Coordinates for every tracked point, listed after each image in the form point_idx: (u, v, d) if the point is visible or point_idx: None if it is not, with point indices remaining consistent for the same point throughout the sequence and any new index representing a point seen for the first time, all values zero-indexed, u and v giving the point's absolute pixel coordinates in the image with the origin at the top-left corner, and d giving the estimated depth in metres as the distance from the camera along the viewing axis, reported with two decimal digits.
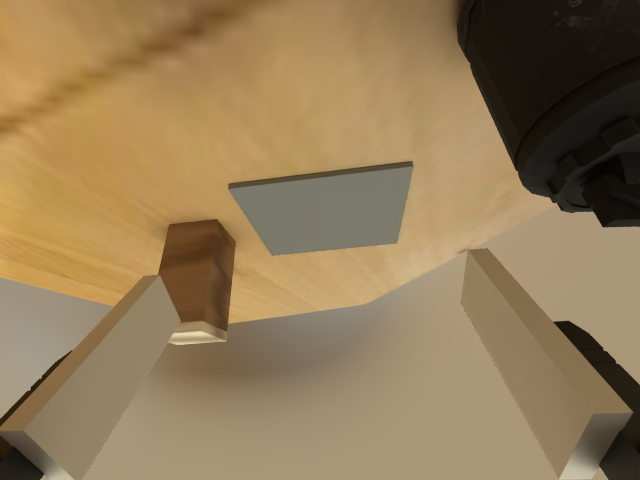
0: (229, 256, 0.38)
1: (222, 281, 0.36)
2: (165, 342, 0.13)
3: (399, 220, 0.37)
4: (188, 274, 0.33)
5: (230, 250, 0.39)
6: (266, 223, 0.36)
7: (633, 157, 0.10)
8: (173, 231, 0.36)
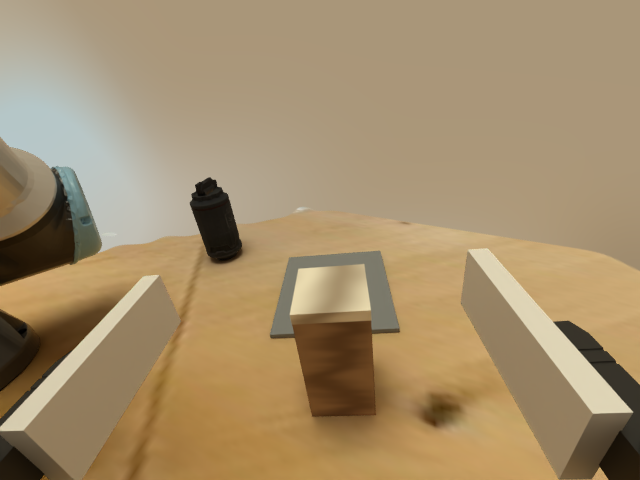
0: None
1: None
2: (165, 342, 0.13)
3: (344, 254, 0.52)
4: None
5: None
6: None
7: (198, 194, 0.51)
8: None
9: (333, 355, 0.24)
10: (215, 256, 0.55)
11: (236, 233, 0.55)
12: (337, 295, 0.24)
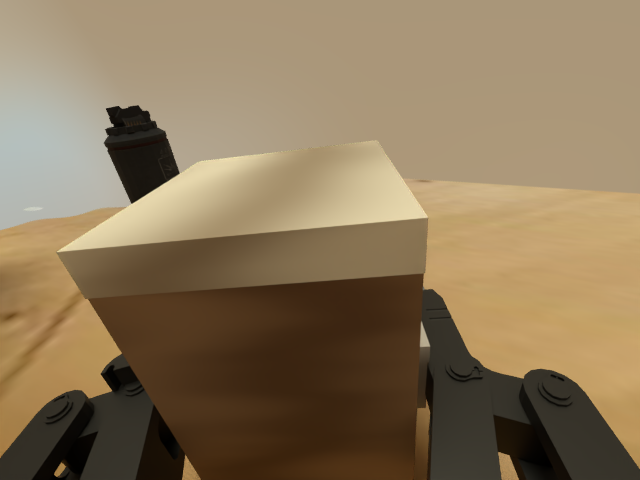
0: None
1: None
2: None
3: None
4: None
5: None
6: None
7: None
8: None
9: (277, 412, 0.07)
10: None
11: None
12: (284, 191, 0.06)
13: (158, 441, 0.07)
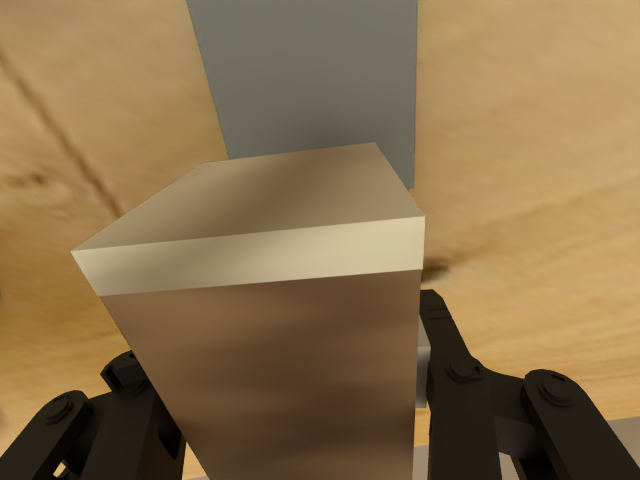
0: None
1: None
2: None
3: None
4: None
5: None
6: None
7: None
8: None
9: (281, 406, 0.07)
10: None
11: None
12: (287, 191, 0.07)
13: (158, 441, 0.07)
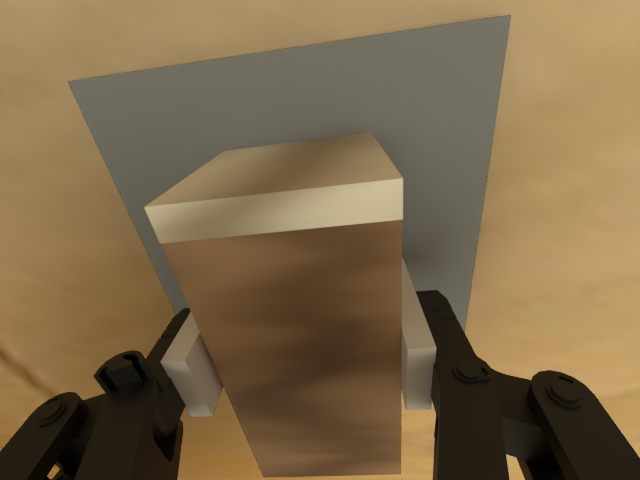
0: None
1: None
2: None
3: (326, 52, 0.11)
4: None
5: None
6: None
7: None
8: None
9: (295, 338, 0.09)
10: None
11: None
12: (300, 167, 0.08)
13: (152, 443, 0.07)
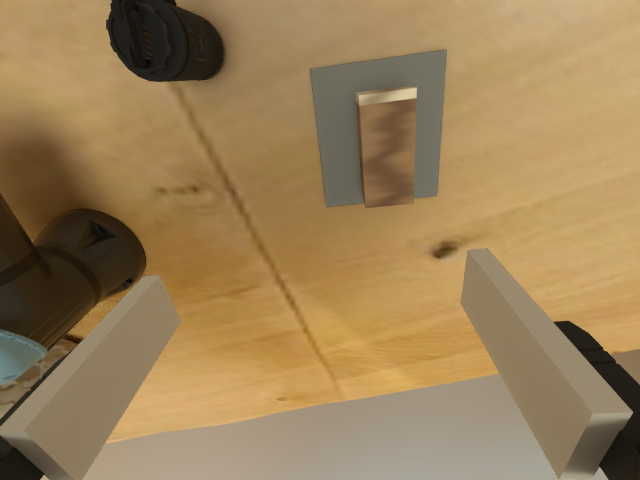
0: None
1: None
2: (165, 342, 0.13)
3: (392, 60, 0.35)
4: None
5: None
6: None
7: None
8: (364, 198, 0.38)
9: (387, 137, 0.34)
10: None
11: (212, 43, 0.32)
12: (390, 90, 0.33)
13: None
